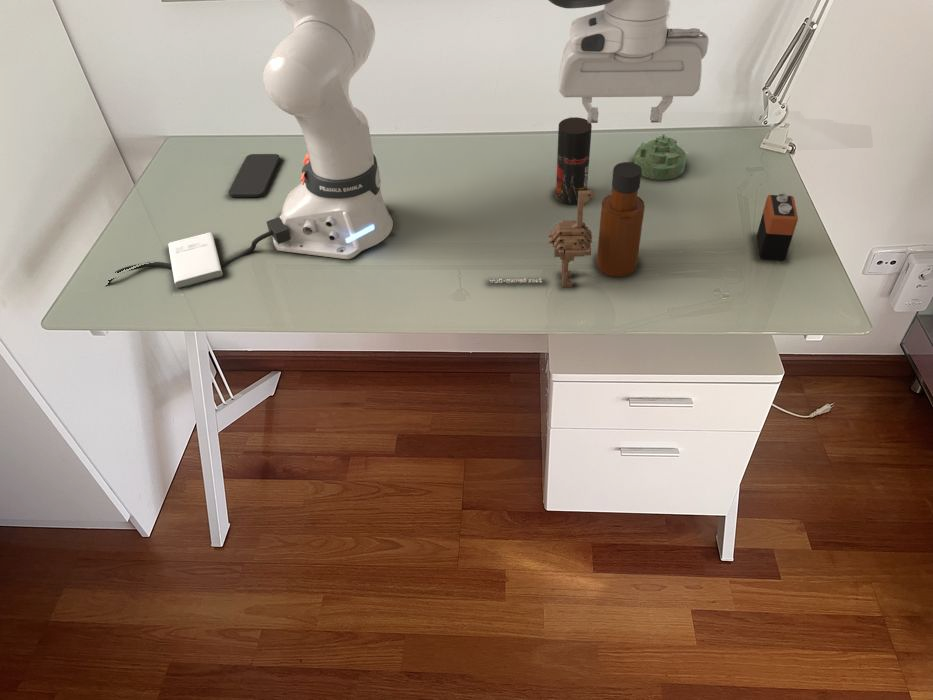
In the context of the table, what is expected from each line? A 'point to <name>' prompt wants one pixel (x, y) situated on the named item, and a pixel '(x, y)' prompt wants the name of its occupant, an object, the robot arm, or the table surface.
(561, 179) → the deodorant
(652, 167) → the decorative artifact
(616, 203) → the bottle
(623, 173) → the bung
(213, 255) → the white power adapter
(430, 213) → the table surface
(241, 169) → the phone
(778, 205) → the battery
